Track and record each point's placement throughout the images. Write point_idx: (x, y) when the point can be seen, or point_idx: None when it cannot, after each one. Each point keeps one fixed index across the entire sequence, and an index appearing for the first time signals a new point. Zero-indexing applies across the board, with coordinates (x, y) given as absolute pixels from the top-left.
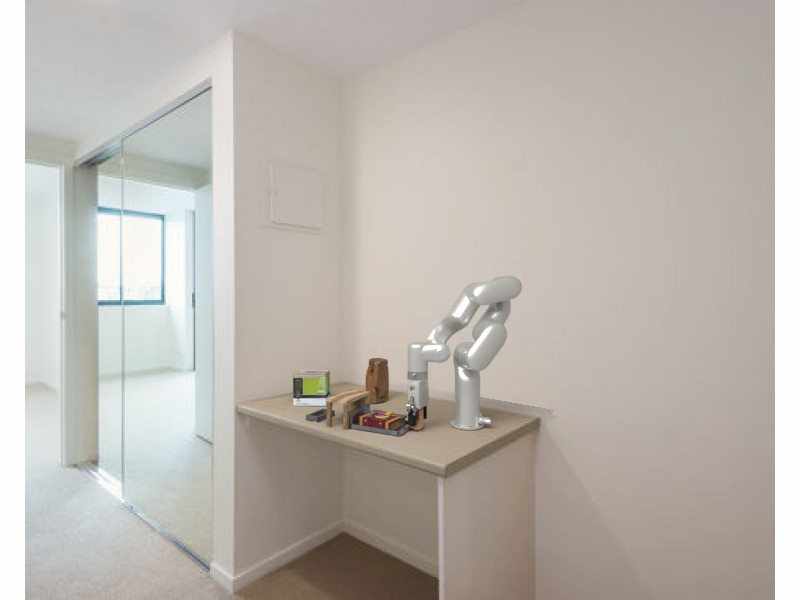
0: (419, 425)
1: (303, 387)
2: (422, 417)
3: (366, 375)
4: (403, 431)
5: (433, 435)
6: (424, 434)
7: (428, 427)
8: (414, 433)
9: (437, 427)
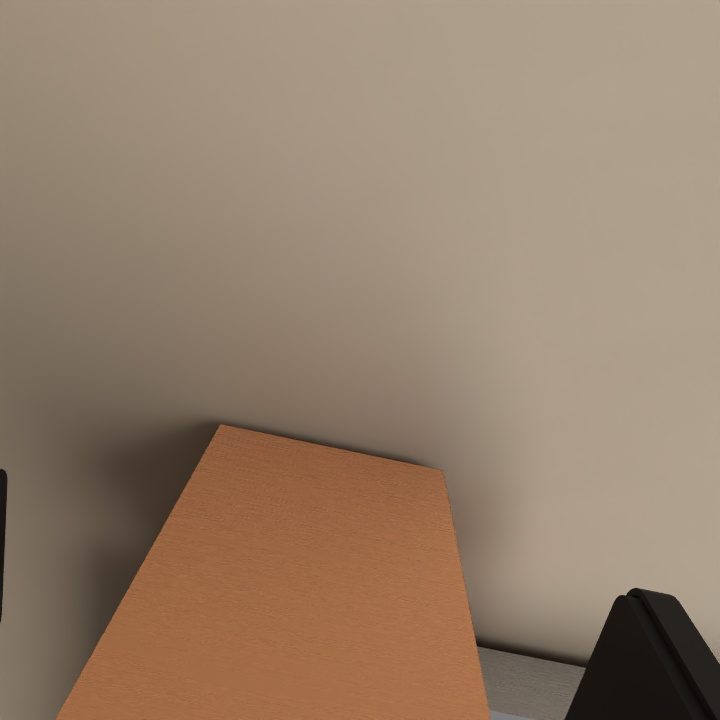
0: (436, 520)
1: None
2: (221, 576)
3: None
4: None
5: (676, 122)
6: (628, 329)
7: (143, 323)
8: (590, 518)
9: (68, 120)
